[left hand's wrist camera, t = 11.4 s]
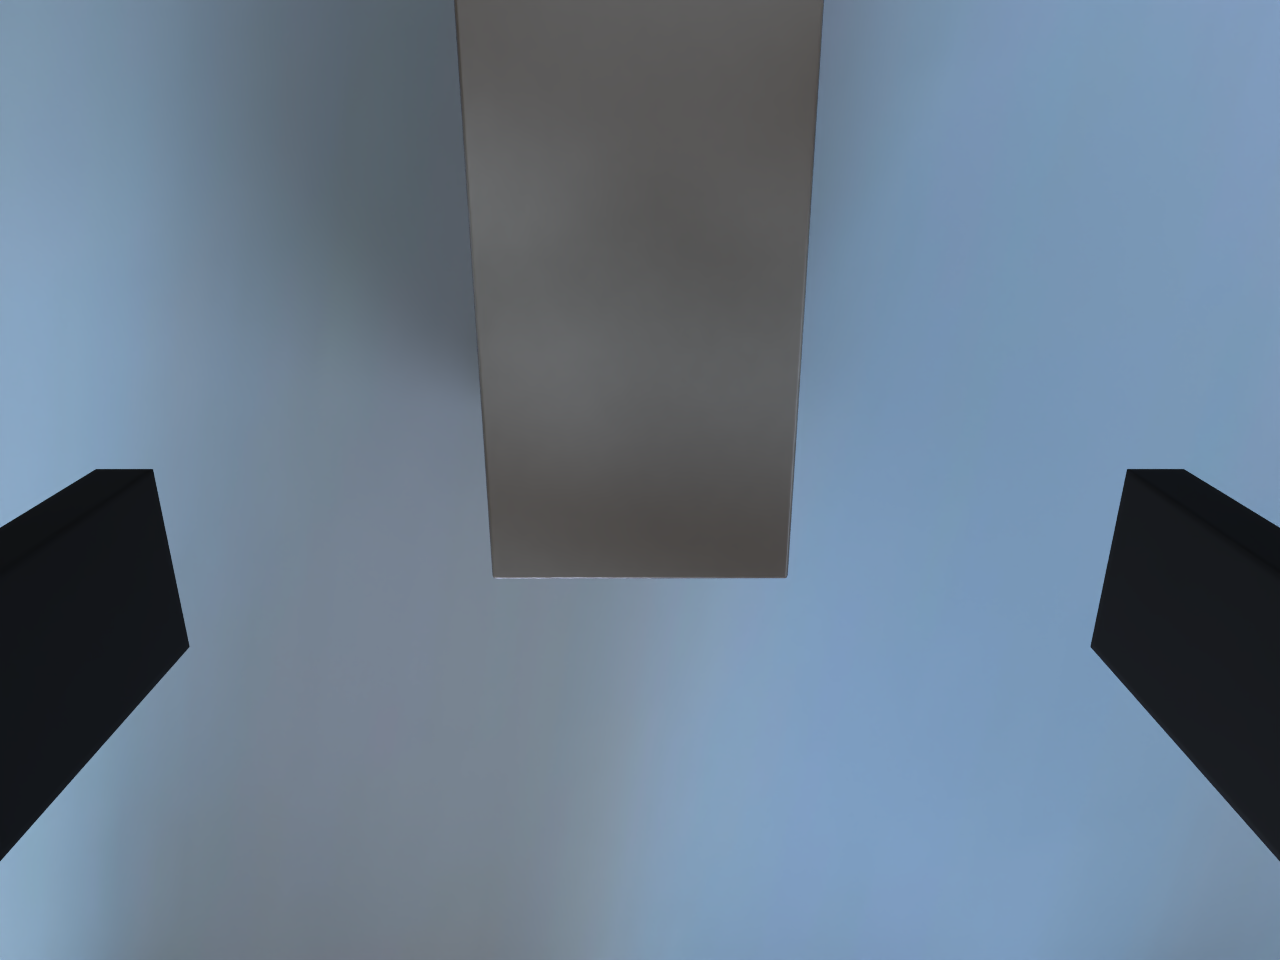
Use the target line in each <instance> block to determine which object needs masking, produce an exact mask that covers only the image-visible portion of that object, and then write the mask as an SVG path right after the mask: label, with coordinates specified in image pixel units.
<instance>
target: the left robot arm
mask: <svg viewBox="0 0 1280 960" xmlns="http://www.w3.org/2000/svg"><path fill="white" fill-rule="evenodd" d="M188 648H189V642H188V637H187V632H186V628H185V623H184V618H183V613H182V608H181V603H180V598H179V594H178V589H177V584H176V579H175V574H174V569H173V564H172V560H171V555H170V550H169V545H168V540H167V535H166V531H165V526H164V521H163V516H162V511H161V506H160V501H159V497H158V492H157V487H156V482H155V477H154V472H153V469H96V470H94V471H92V472H91V473H89V474H87V475H86V476H84V477H82V478H81V479H79V480H78V481H76V482H74V483H73V484H71V485H69V486H68V487H66V488H64V489H63V490H61V491H60V492H58V493H56V494H55V495H53V496H51V497H50V498H48V499H46V500H45V501H43V502H42V503H40V504H38V505H37V506H35V507H33V508H32V509H30V510H29V511H27V512H25V513H24V514H22V515H20V516H19V517H17V518H15V519H14V520H12V521H11V522H9V523H7V524H6V525H4V526H2V527H1V528H0V861H1V860H2V859H3V857H4V856H5V855H6V854H7V853H8V852H9V851H10V850H11V848H12V847H13V846H14V845H15V844H16V843H17V842H18V841H19V839H20V838H21V837H22V836H23V835H24V834H25V833H26V831H27V830H28V829H29V828H30V827H31V826H32V825H33V824H34V822H35V821H36V820H37V819H38V818H39V817H40V816H41V814H42V813H43V812H44V811H45V810H46V809H47V808H48V807H49V805H50V804H51V803H52V802H53V801H54V800H55V799H56V797H57V796H58V795H59V794H60V793H61V792H62V791H63V790H64V788H65V787H66V786H67V785H68V784H69V783H70V782H71V780H72V779H73V778H74V777H75V776H76V775H77V774H78V773H79V771H80V770H81V769H82V768H83V767H84V766H85V765H86V763H87V762H88V761H89V760H90V759H91V758H92V757H93V756H94V754H95V753H96V752H97V751H98V750H99V749H100V748H101V746H102V745H103V744H104V743H105V742H106V741H107V740H108V739H109V737H110V736H111V735H112V734H113V733H114V732H115V731H116V729H117V728H118V727H119V726H120V725H121V724H122V723H123V722H124V720H125V719H126V718H127V717H128V716H129V715H130V714H131V713H132V711H133V710H134V709H135V708H136V707H137V706H138V705H139V703H140V702H141V701H142V700H143V699H144V698H145V697H146V696H147V694H148V693H149V692H150V691H151V690H152V689H153V688H154V686H155V685H156V684H157V683H158V682H159V681H160V680H161V679H162V677H163V676H164V675H165V674H166V673H167V672H168V671H169V669H170V668H171V667H172V666H173V665H174V664H175V663H176V662H177V660H178V659H179V658H180V657H181V656H182V655H183V654H184V652H185V651H186V650H187V649H188ZM1091 648H1092V649H1093V650H1094V651H1095V652H1096V654H1097V655H1098V656H1099V657H1100V658H1101V659H1102V660H1103V662H1104V663H1105V664H1106V665H1107V666H1108V667H1109V668H1110V669H1111V671H1112V672H1113V673H1114V674H1115V675H1116V676H1117V677H1118V679H1119V680H1120V681H1121V682H1122V683H1123V684H1124V685H1125V686H1126V688H1127V689H1128V690H1129V691H1130V692H1131V693H1132V694H1133V696H1134V697H1135V698H1136V699H1137V700H1138V701H1139V702H1140V703H1141V705H1142V706H1143V707H1144V708H1145V709H1146V710H1147V711H1148V713H1149V714H1150V715H1151V716H1152V717H1153V718H1154V719H1155V720H1156V722H1157V723H1158V724H1159V725H1160V726H1161V727H1162V728H1163V729H1164V731H1165V732H1166V733H1167V734H1168V735H1169V736H1170V737H1171V739H1172V740H1173V741H1174V742H1175V743H1176V744H1177V745H1178V746H1179V748H1180V749H1181V750H1182V751H1183V752H1184V753H1185V754H1186V756H1187V757H1188V758H1189V759H1190V760H1191V761H1192V762H1193V763H1194V765H1195V766H1196V767H1197V768H1198V769H1199V770H1200V771H1201V773H1202V774H1203V775H1204V776H1205V777H1206V778H1207V779H1208V780H1209V782H1210V783H1211V784H1212V785H1213V786H1214V787H1215V788H1216V790H1217V791H1218V792H1219V793H1220V794H1221V795H1222V796H1223V797H1224V799H1225V800H1226V801H1227V802H1228V803H1229V804H1230V805H1231V807H1232V808H1233V809H1234V810H1235V811H1236V812H1237V813H1238V814H1239V816H1240V817H1241V818H1242V819H1243V820H1244V821H1245V822H1246V824H1247V825H1248V826H1249V827H1250V828H1251V829H1252V830H1253V831H1254V833H1255V834H1256V835H1257V836H1258V837H1259V838H1260V839H1261V841H1262V842H1263V843H1264V844H1265V845H1266V846H1267V847H1268V848H1269V850H1270V851H1271V852H1272V853H1273V854H1274V855H1275V856H1276V857H1277V859H1278V860H1279V861H1280V528H1279V527H1278V526H1276V525H1274V524H1273V523H1271V522H1269V521H1268V520H1266V519H1265V518H1263V517H1261V516H1260V515H1258V514H1256V513H1255V512H1253V511H1251V510H1250V509H1248V508H1247V507H1245V506H1243V505H1242V504H1240V503H1238V502H1237V501H1235V500H1234V499H1232V498H1230V497H1229V496H1227V495H1225V494H1224V493H1222V492H1220V491H1219V490H1217V489H1216V488H1214V487H1212V486H1211V485H1209V484H1207V483H1206V482H1204V481H1202V480H1201V479H1199V478H1198V477H1196V476H1194V475H1193V474H1191V473H1189V472H1188V471H1186V470H1184V469H1127V472H1126V477H1125V482H1124V487H1123V492H1122V497H1121V501H1120V506H1119V511H1118V516H1117V521H1116V526H1115V531H1114V535H1113V540H1112V545H1111V550H1110V555H1109V560H1108V564H1107V569H1106V574H1105V579H1104V584H1103V589H1102V594H1101V598H1100V603H1099V608H1098V613H1097V618H1096V623H1095V628H1094V632H1093V637H1092V642H1091Z"/></svg>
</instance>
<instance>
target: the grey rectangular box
mask: <svg viewBox="0 0 1280 960" xmlns="http://www.w3.org/2000/svg"><path fill="white" fill-rule="evenodd" d="M454 6H455V21H456V36H457V51H458V66H459V81H460V96H461V111H462V126H463V141H464V156H465V171H466V185H467V200H468V215H469V230H470V245H471V260H472V275H473V290H474V305H475V320H476V335H477V350H478V365H479V379H480V394H481V409H482V424H483V439H484V454H485V469H486V484H487V499H488V514H489V529H490V544H491V558H492V573H493V577H494V578H496V579H517V578H786V577H787V575H788V561H789V545H790V530H791V514H792V498H793V482H794V466H795V450H796V435H797V419H798V403H799V387H800V371H801V355H802V339H803V324H804V308H805V292H806V276H807V260H808V244H809V229H810V213H811V197H812V181H813V165H814V149H815V133H816V118H817V102H818V86H819V70H820V54H821V38H822V23H823V7H824V0H454Z"/></svg>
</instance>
